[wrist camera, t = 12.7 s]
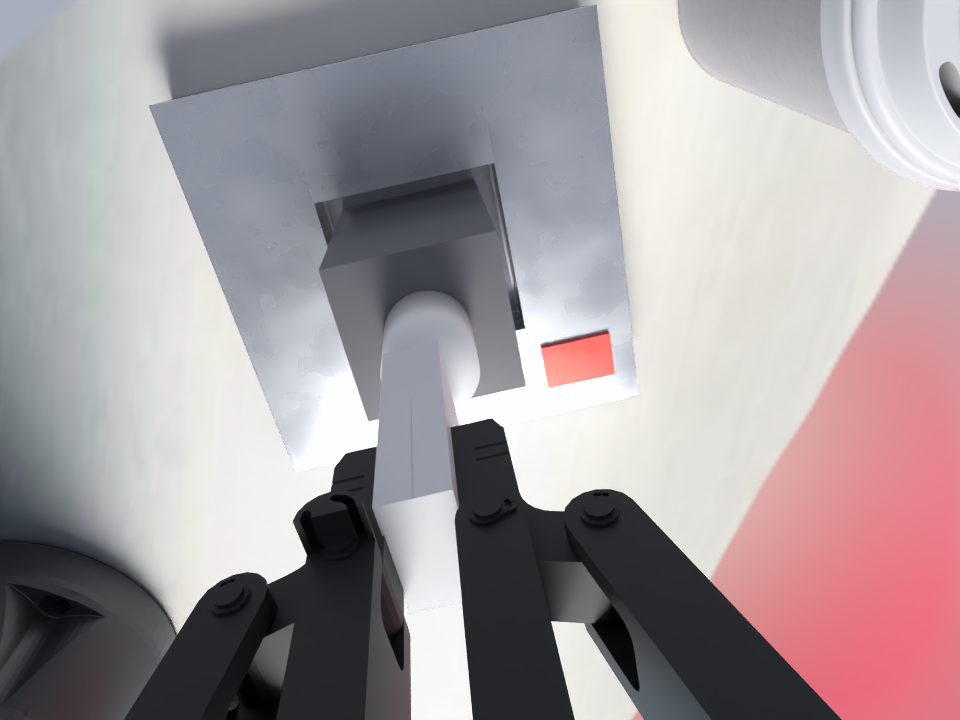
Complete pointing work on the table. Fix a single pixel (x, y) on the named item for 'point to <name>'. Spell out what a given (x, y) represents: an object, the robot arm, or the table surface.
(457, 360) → the plug
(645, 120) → the table surface
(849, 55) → the coffee cup
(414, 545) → the robot arm
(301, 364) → the socket plate
